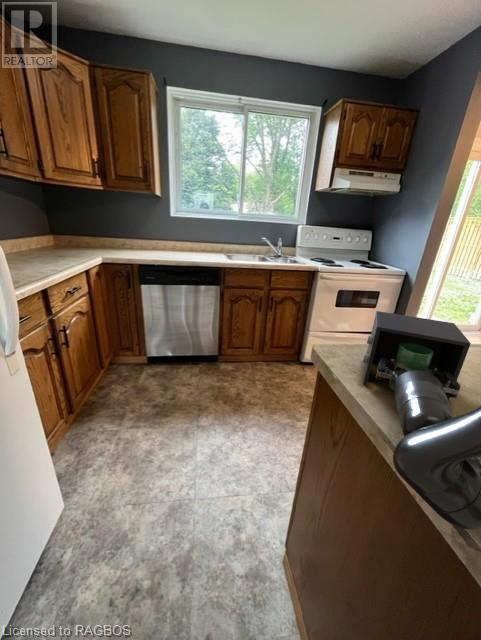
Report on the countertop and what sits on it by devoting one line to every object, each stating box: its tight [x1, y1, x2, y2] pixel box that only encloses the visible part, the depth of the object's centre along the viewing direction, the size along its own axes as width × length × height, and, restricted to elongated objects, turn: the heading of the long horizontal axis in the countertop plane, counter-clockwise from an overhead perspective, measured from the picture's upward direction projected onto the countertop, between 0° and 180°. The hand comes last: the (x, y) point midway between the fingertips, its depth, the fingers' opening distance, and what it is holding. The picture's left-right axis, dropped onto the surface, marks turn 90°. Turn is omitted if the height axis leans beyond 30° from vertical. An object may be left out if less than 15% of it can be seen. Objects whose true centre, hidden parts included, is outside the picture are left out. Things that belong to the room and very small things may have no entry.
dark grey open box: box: [362, 310, 472, 402], centre depth 64 cm, size 18×13×15 cm
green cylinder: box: [388, 342, 434, 392], centre depth 59 cm, size 6×6×10 cm
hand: (409, 360), depth 61 cm, fingers closed on green cylinder, 6 cm apart
